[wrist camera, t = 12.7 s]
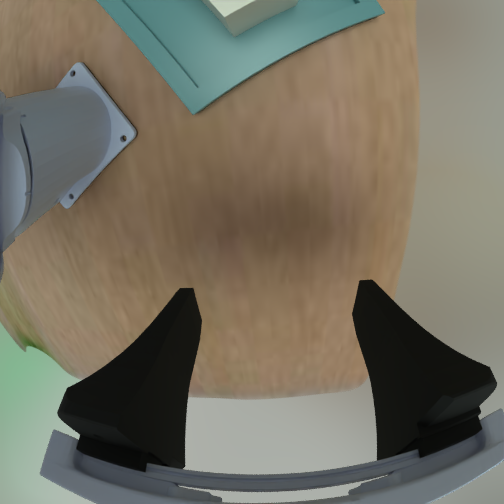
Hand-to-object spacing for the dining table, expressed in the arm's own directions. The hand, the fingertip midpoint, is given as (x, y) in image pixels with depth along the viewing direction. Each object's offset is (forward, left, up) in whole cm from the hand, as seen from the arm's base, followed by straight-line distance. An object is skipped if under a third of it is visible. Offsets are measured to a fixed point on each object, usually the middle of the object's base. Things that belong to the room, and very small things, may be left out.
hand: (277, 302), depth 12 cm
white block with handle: (+7, +16, -9) cm, 19 cm away
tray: (+7, +16, -9) cm, 19 cm away
